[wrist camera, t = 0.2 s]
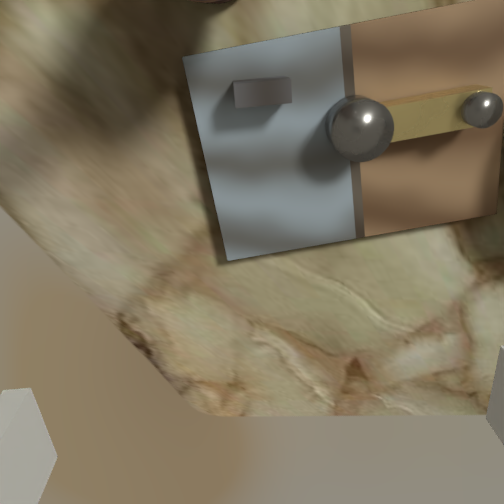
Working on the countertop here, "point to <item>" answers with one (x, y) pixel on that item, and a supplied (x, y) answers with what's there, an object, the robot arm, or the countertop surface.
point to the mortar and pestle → (211, 1)
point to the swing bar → (407, 118)
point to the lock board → (315, 139)
